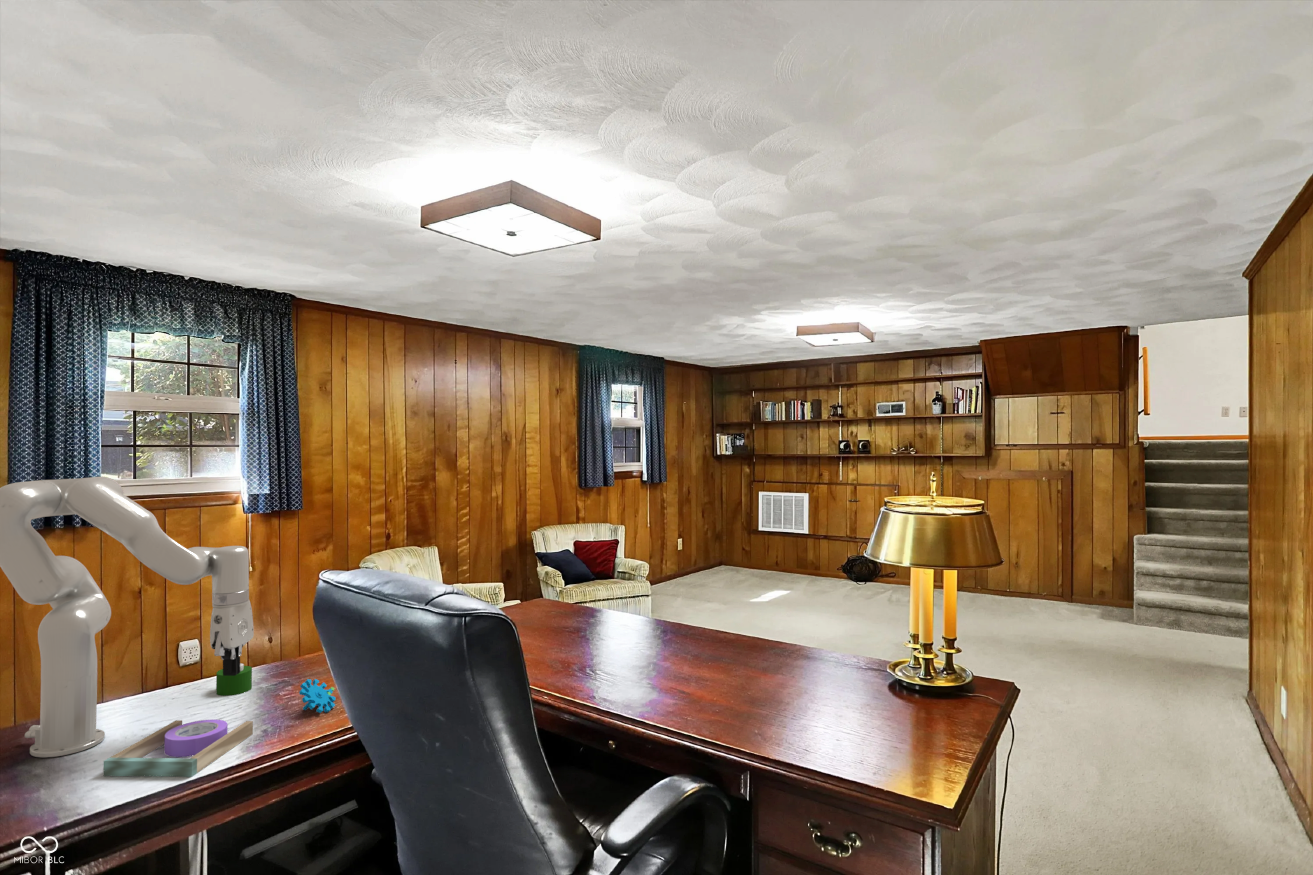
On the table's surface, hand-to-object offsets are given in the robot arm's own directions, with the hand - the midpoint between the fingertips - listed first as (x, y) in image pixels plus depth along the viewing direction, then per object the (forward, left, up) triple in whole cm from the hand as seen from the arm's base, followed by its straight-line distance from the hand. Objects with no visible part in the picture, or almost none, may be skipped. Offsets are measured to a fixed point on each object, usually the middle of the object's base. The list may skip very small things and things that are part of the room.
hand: (231, 674), depth 163 cm
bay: (-1, -15, -12) cm, 19 cm away
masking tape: (-1, -11, -13) cm, 17 cm away
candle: (-14, +23, -12) cm, 29 cm away
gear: (+16, +10, -12) cm, 23 cm away
